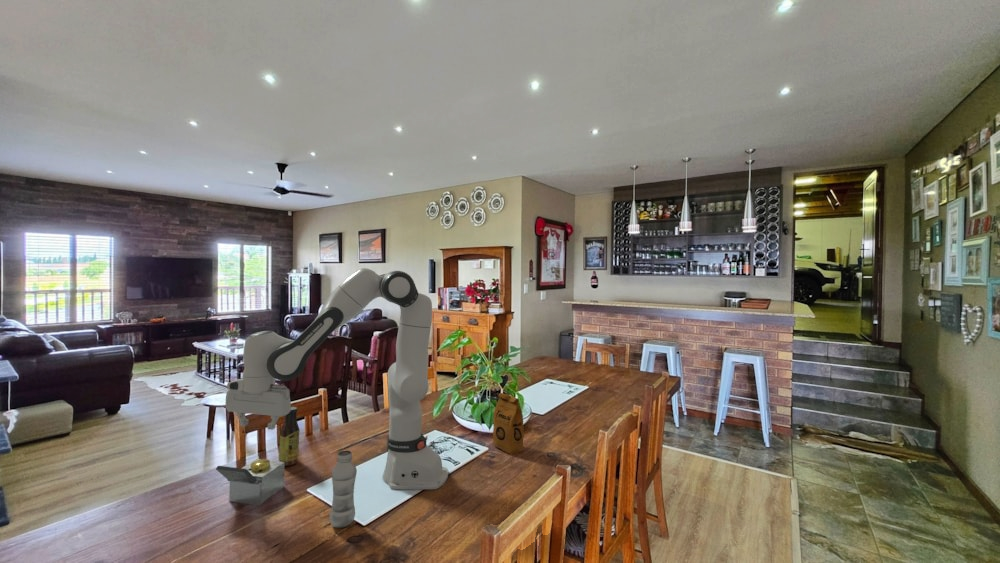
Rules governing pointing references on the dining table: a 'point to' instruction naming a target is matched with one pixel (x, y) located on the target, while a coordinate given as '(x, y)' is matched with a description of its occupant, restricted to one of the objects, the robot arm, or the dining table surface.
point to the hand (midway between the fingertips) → (257, 427)
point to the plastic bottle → (343, 490)
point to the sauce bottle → (289, 439)
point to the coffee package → (508, 425)
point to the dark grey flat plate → (237, 475)
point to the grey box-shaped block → (258, 485)
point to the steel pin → (260, 465)
